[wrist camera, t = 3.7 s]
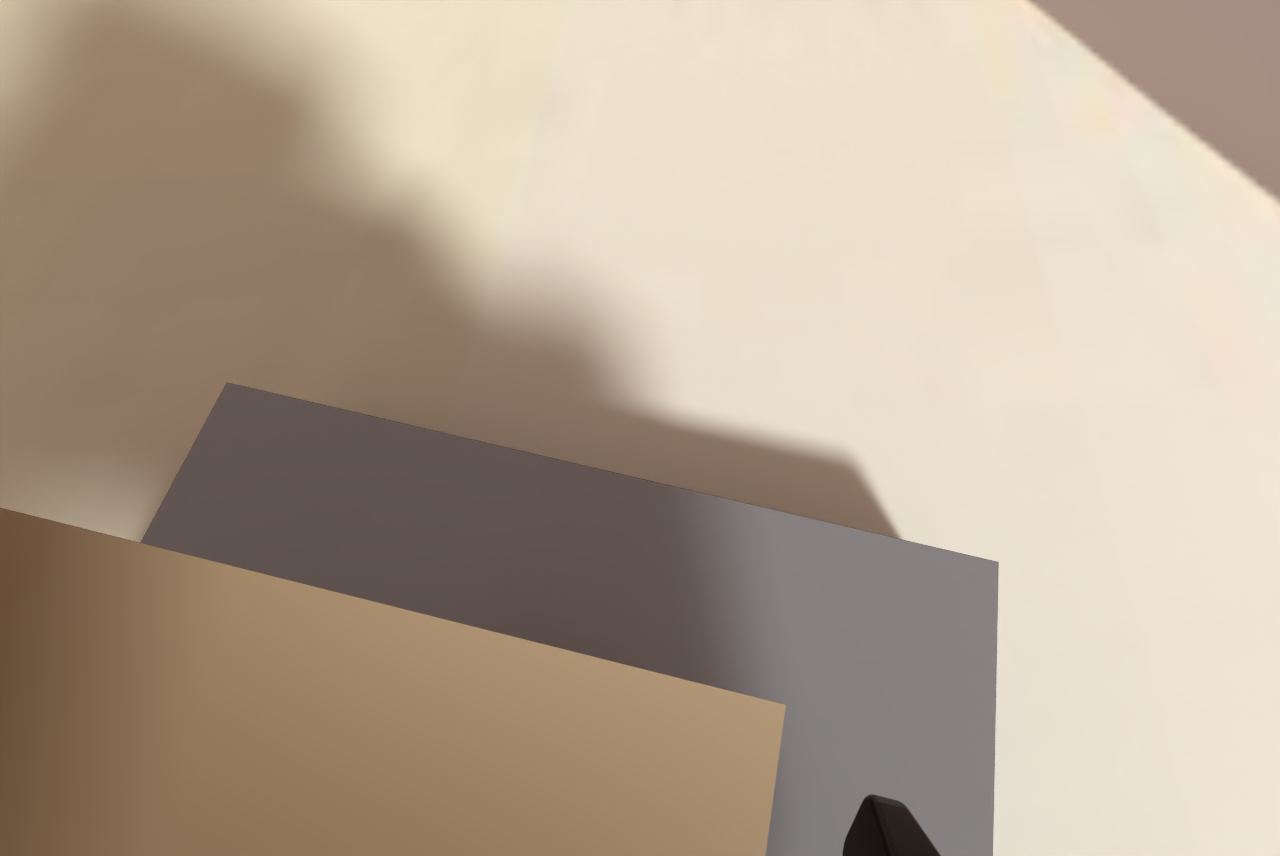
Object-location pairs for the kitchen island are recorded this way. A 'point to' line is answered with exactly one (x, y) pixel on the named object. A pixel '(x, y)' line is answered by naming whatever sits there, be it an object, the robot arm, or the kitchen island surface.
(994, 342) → the kitchen island surface
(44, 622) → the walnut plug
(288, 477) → the socket board
